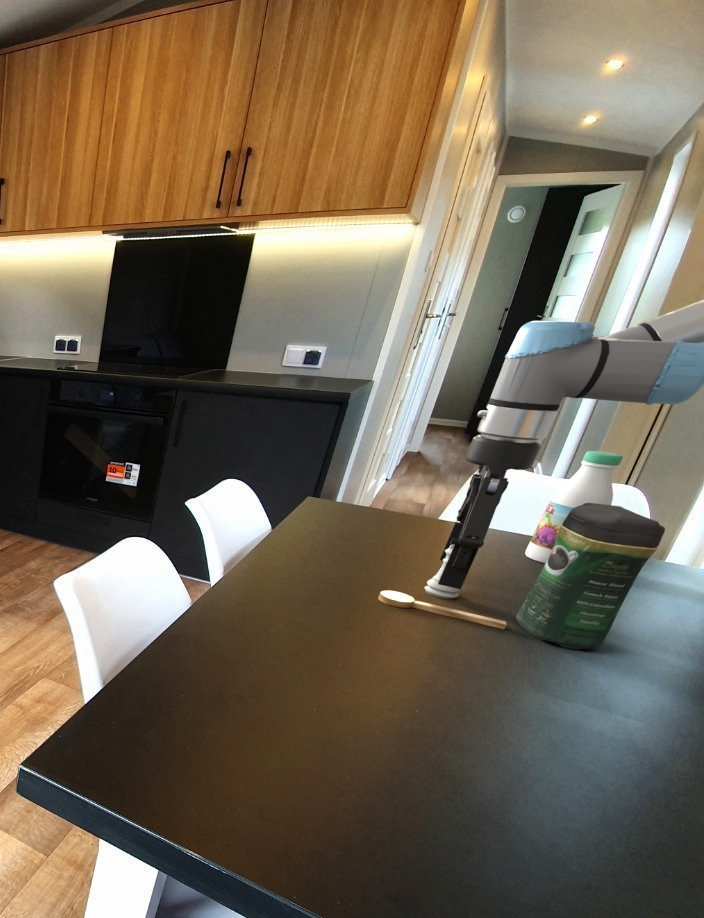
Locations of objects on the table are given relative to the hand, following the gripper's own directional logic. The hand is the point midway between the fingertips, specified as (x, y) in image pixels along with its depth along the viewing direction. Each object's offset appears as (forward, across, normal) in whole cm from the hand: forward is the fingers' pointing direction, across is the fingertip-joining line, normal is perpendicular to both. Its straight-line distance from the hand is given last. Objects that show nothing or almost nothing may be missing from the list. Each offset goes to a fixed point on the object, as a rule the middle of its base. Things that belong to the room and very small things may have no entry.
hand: (449, 573), depth 100 cm
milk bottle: (+4, -35, +16) cm, 39 cm away
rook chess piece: (+4, 0, 0) cm, 4 cm away
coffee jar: (+4, +7, +13) cm, 15 cm away
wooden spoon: (+4, +9, -1) cm, 10 cm away
